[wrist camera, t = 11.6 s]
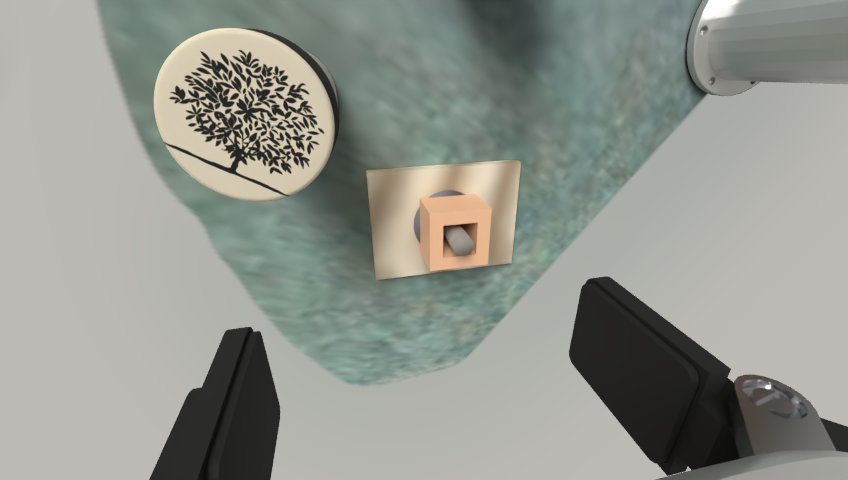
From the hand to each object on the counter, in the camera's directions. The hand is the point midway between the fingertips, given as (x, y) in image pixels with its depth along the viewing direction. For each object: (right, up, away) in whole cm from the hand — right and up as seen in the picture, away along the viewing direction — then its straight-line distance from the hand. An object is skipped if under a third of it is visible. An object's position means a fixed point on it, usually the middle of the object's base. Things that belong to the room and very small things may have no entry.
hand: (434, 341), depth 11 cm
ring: (+2, +5, +29) cm, 29 cm away
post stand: (+2, +5, +30) cm, 30 cm away
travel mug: (-12, +16, +22) cm, 30 cm away
